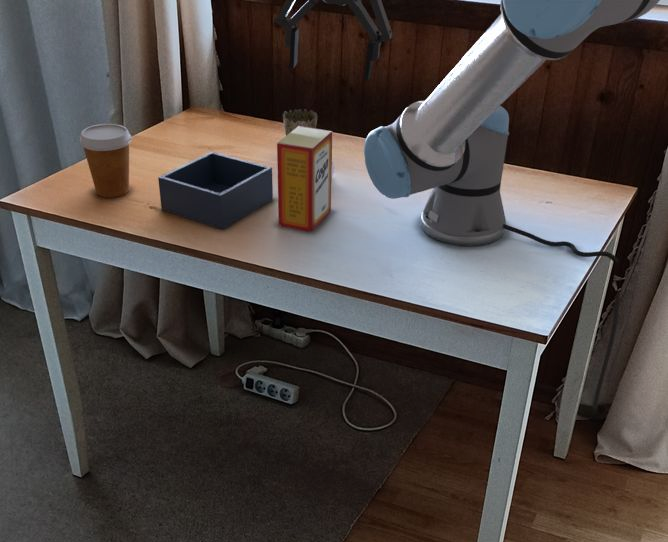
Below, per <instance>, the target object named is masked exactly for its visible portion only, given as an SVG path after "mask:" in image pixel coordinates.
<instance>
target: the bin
mask: <svg viewBox="0 0 668 542" xmlns="http://www.w3.org/2000/svg"><path fill="white" fill-rule="evenodd" d="M157 179H158V190H159V198H160V207H161V208H160V209H161V211H163V212H166V213H169V214H173V215H175V216H179V217H182V218H185V219H188V220H192V221H195V222H197V223H201V224H205V225H207V226H210V227H214V228H215V229H216V228H217V229H220V230H224V229H227V228H228V227H230V226H232V225H233V224H235V223H236V222H238V221H240V220H242V219H243V218H245V217H247V216H248V215H250V214H251V213H253V212H255V211H257V210H258V209H260V208H261V207H264V206H265V205H267V204H268V203H270V202H272V201H273V200H274V191H273V189H274V187H273V167H271V166H267V165H264V164H260V163H257V162H253V161H249V160H245V159H241V158H238V157H235V156H230V155H226V154H223V153H219V152H215V151H210V152H207V153H205V154H202V155H201V156H199V157H196V158H195V159H193V160H191V161H189V162H187V163H185V164H183V165H180V166H179V167H177V168H174V169H172V170H170V171H168V172H166V173H164V174H161V175H159V176H158V177H157Z"/></svg>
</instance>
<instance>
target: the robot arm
mask: <svg viewBox="0 0 668 542" xmlns="http://www.w3.org/2000/svg"><path fill="white" fill-rule="evenodd" d="M322 1H323V2H324V3H325V4H327V5H333V4H335V5H337V6H339V7H340V6H341V7H344V6H346V5H347V6H348V7H349V9H350V10H351V11H352V12H353V13H354V15H355V17H356V18H357V20H358V21H359V23H360V25H361V26H362V28H363V29H364V31H365V32H366V34H367V36H368V37H369V40H368V42H367V46H366V57H365V66H364V74H363V75H364V76H363V81H365V82H369V80H370V78H371V76H372V68H373V62H377V61H378V59H379V57H380V53H381V52H380V50H381V44H382V43H383V42H386V43H388V42H389V41H390V40H391V38H392V36H393V31H392V28H391V25H390V23H389V19H388V15H387V14H386V11H385V7H384V5H383V1H382V0H369V2H370V5H371V8H372V11H373V14H374V17H375V20H376V23H377V25H378V27H377V25H376V23H375V22H374V20H373V19H372V17H371V15H370V14H369V12H368V11H367V9H366V8H365V6H364V5H363V2H362V0H322ZM318 2H320V0H307V1H306V2H305V3H304V4H303V5H302V6H301V7H300V8H299V10H297V12H295V13H294V14H293V15H292V16H291V17H288V15H289V13H290V11H291V10H292V8H293V6H294V4H295V3H296V0H285V1H284V2H283V5H282V7H281V8H280V11H279V12H278V14H277V15H276V18H275V19H274V22H275V24H276V25H278V26H282V27H283V28H284V32H285V34H284V45H285V48H288V49H289V65H288V68H289V69H292V70H293V69H295V67H296V66H297V65H298V57H299V36H300V27H299V26H297V24H298V23H299V22H300V21H301V20H302V19H303V18H304V16H306V15H307V13H309V11H311V10H312V8H314V6H316V4H318ZM659 2H660V0H500V4H499V5H500V7H499V8H500V14H499V15H498V17H497V18H496V19H494V22H492V23H491V24H490V26H489V27H488V28H487V29H486V30H485V32H484V33H483V34H482V35H481V36H480V37H479V38H478V39H477V41H476V42H475V43H474V44H473V45H472V47H471V48H469V50H468V51H467V52H466V53H465V54H464V56H462V58H461V60H459V62H458V63H457V64H456V65H455V66H454V68H452V69H451V71H450V72H449V73H448V74H447V75H446V76H445V78H443V80H442V81H441V82H440V84H438V85H437V87H435V89H434V90H433V91H432V93H431V94H430V95H429V96H428V97H427V98H426V99H425V100H418V101H415V102H412V103H411V104H409V105H408V106H407V107H405V109H404V110H403V111H402V113H400V115H399V116H398V117H397V119H396V120H394V122H392V123H391V124H389V125H387V126H386V125H385V126H383V125H381V126H378V127H377V128H375V129H373V130H371V131H370V132H369V133H368V135H367V136H366V139H365V142H364V148H363V149H364V150H363V155H364V163H365V167H366V171H367V173H368V176H369V179H370V181H371V183H372V184H373V186H374V187H375V188H376V190H377V192H379V193H380V194H381V195H383V196H385V197H386V198H388V199H391V200H392V199H400V198H408V197H410V196H412V195H414V194H418V193H421V192H425V191H428V190H431V189H432V190H431V192H430V194H429V197H428V199H427V201H426V203H425V206H424V208H423V210H422V212H421V219H420V227H421V230H422V231H423V232H424V233H425V234H426V235H427V236H429V237H430V238H432V239H435V240H437V241H440V242H442V243H446V244H450V245H455V246H467V247H468V246H469V247H470V246H471V247H472V246H482V245H483V246H484V245H488V244H491V243H494V242H496V241H498V240H500V239H501V238H502V237H503V236H504V234H505V232H506V231H509V232H512V233H515V234H517V235H520V236H522V237H526V238H529V239H530V240H532V241H535V242H538V243H539V244H542V245H545V246H549V247H567V248H569V249H570V250H571V251H572V253H573V254H575V255H576V256H578V257H581V258H582V257H583V258H593V257H594V258H595V257H606V258H608V259H609V260H611V261H612V262H614V263H619V262H620V260H619V259H618V258H617V257H616V256H615V255H614V254H613V253H612V252H608V251H605V250H604V251H603V250H599V251H588V252H586V251H580V250H578V249H577V247H576V246H575V245H574V244H573V243H572V242H569V241H564V240H563V241H551V240H548V239H544V238H541V237H539V236H537V235H535V234H533V233H530V232H528V231H525V230H522V229H519V228H516V227H514V226H511V225H509V224H506V223H507V221H506V213H505V210H504V204H503V199H502V195H501V186H502V180H503V179H502V177H503V172H504V171H503V170H504V165H505V159H506V152H507V145H508V139H509V135H510V132H509V124H510V116H509V115H510V114H509V112H508V111H507V110H506V109H505V107H503V106H502V105H503V104H504V103H505V101H506V100H507V99H509V97H511V95H512V94H514V93H515V92H516V91H517V89H519V88H520V87H521V86H522V85H523V84H524V83H525V82H526V81H527V80H528V79H529V78H530V77H531V76H532V75H533V74H534V73H535V72H536V71H537V70H538V69H539V68H540V67H541V66H542V65H543V64H544V63H545V62H546V61H547V60H548V61H558V60H561V59H564V58H567V56H568V55H570V54H571V53H572V52H573V51H574V50H575V49H576V48H577V47H578V46H579V45H580V44H581V43H582V42H583V41H584V40H585V39H587V38H588V36H590V35H591V34H592V33H593V32H594V31H596V30H597V29H600V28H603V27H607V26H608V27H609V26H612V25H617V24H623V23H628V22H631V21H633V20H636V19H639V18H640V17H642V16H645V15H646V14H647V13H649V12H650V11H651V10H652V9H654V8H655V7H656V6H657V4H658V3H659ZM505 230H506V231H505ZM620 301H621V289H619V290H618V291H617V293H616V294H615V296H614V306H613V307H614V309H613V317H612V322H611V323H612V324H611V330H610V334H609V340H608V343H607V348H606V352H605V356H604V360H603V363H602V366H601V370H600V374H599V377H598V381H597V386H596V389H595V393H594V398H593V403H592V409H593V410H597V408H598V404H599V399H600V395H601V390H602V387H603V383H604V379H605V375H606V371H607V368H608V365H609V361H610V358H611V353H612V350H613V346H614V341H615V336H616V332H617V327H618V326H617V325H618V320H619V313H620Z"/></svg>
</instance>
